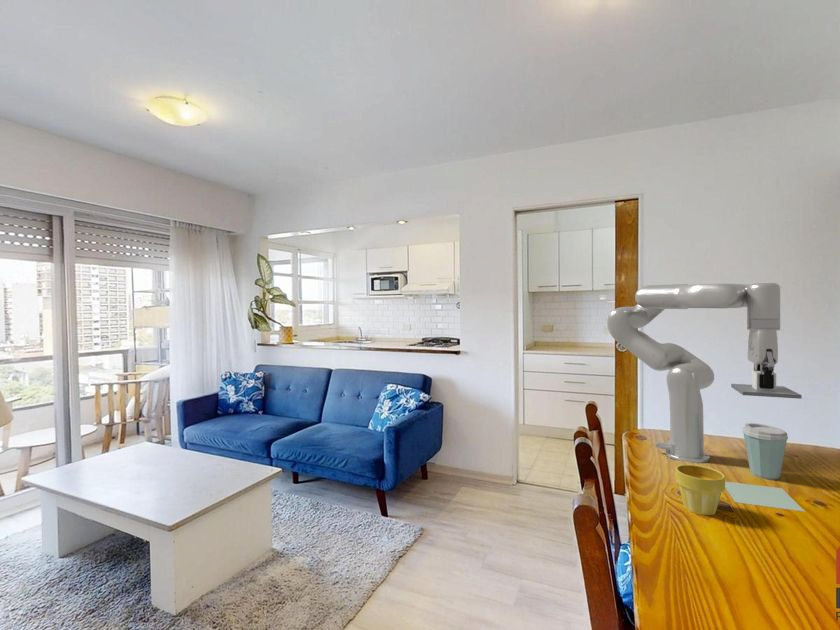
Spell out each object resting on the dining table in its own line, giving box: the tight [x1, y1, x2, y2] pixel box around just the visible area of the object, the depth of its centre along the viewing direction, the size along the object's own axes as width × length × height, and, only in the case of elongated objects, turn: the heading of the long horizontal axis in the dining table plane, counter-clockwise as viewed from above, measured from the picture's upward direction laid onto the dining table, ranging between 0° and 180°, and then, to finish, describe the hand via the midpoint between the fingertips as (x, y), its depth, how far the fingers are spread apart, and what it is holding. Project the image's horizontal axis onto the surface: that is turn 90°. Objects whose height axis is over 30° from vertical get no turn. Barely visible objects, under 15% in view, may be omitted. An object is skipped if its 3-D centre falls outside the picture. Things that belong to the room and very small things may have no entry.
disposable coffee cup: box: [741, 422, 789, 481], centre depth 123 cm, size 11×11×15 cm
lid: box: [730, 370, 803, 400], centre depth 122 cm, size 13×13×6 cm
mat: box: [725, 481, 806, 513], centre depth 110 cm, size 14×14×1 cm
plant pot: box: [674, 463, 726, 516], centre depth 104 cm, size 10×10×10 cm
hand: (763, 386), depth 122 cm, fingers closed on lid, 4 cm apart
